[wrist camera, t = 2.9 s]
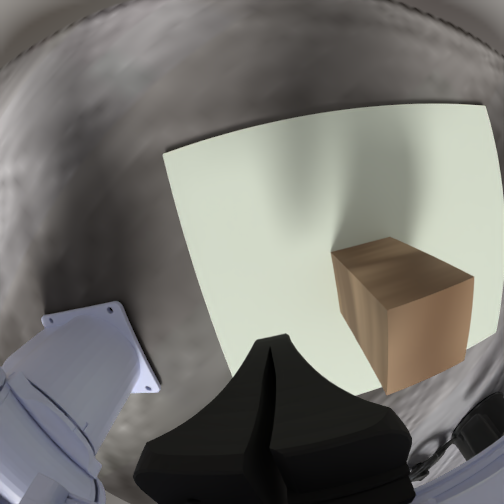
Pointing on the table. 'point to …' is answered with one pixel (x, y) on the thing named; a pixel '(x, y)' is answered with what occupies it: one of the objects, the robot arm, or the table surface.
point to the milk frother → (471, 433)
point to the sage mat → (336, 220)
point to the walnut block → (404, 309)
